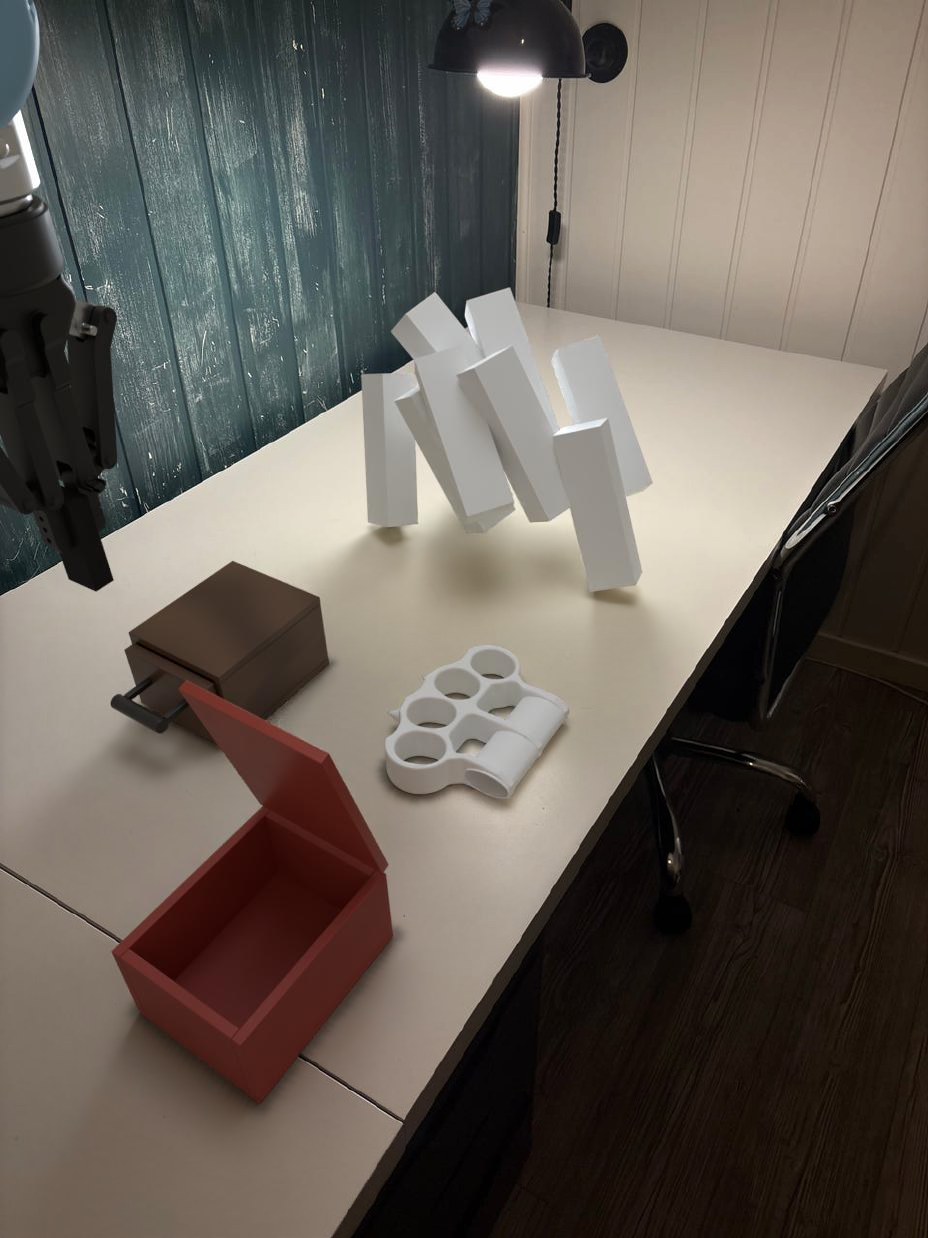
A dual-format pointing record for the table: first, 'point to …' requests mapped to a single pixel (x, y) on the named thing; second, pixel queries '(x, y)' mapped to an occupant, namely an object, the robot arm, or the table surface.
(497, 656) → the white brass knuckles
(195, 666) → the cabinet
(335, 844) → the lid
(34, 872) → the table surface
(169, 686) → the drawer
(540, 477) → the pile of blocks
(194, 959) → the chest
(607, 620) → the table surface
